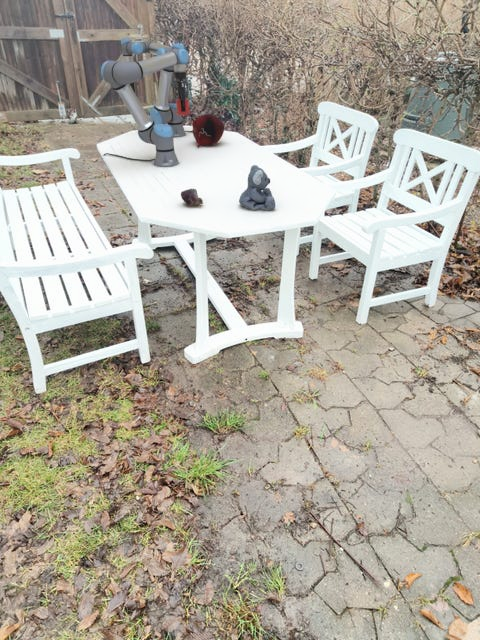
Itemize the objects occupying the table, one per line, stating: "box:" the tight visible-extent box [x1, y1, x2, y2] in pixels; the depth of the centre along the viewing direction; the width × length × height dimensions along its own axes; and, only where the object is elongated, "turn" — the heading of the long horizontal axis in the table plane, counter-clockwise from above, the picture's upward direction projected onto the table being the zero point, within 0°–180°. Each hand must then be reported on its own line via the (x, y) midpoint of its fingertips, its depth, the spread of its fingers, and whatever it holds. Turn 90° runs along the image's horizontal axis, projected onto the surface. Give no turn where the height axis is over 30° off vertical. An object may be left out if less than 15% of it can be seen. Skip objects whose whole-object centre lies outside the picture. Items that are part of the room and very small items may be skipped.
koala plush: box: [238, 164, 276, 211], centre depth 224 cm, size 17×18×20 cm
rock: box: [180, 188, 204, 207], centre depth 229 cm, size 12×9×10 cm
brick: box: [175, 97, 190, 116], centre depth 302 cm, size 5×8×9 cm, turn 107°
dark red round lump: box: [190, 113, 225, 149], centre depth 332 cm, size 21×24×25 cm
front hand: (182, 110), depth 303 cm, fingers closed on brick, 5 cm apart
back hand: (132, 92), depth 357 cm, fingers open, 13 cm apart
